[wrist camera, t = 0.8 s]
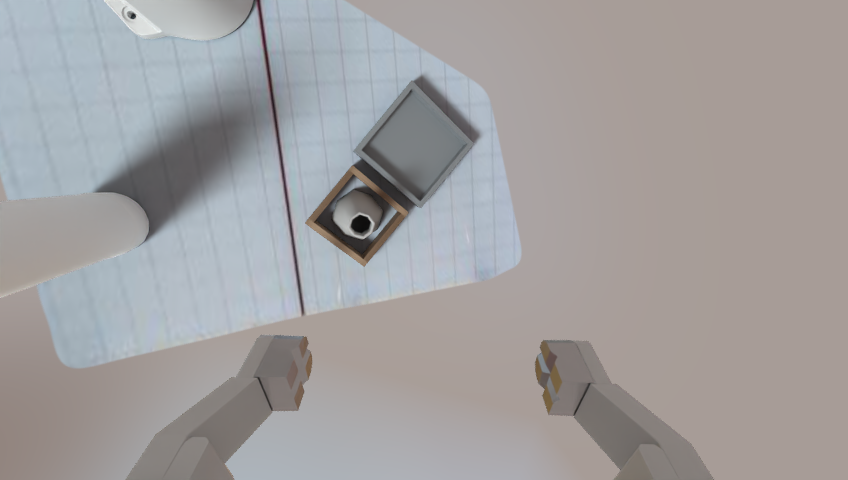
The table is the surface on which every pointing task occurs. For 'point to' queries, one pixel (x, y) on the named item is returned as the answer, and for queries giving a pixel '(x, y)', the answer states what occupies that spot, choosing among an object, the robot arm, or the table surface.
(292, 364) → the robot arm
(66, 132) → the table surface
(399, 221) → the shaker holder
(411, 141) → the tray
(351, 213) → the flask
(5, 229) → the bottle
